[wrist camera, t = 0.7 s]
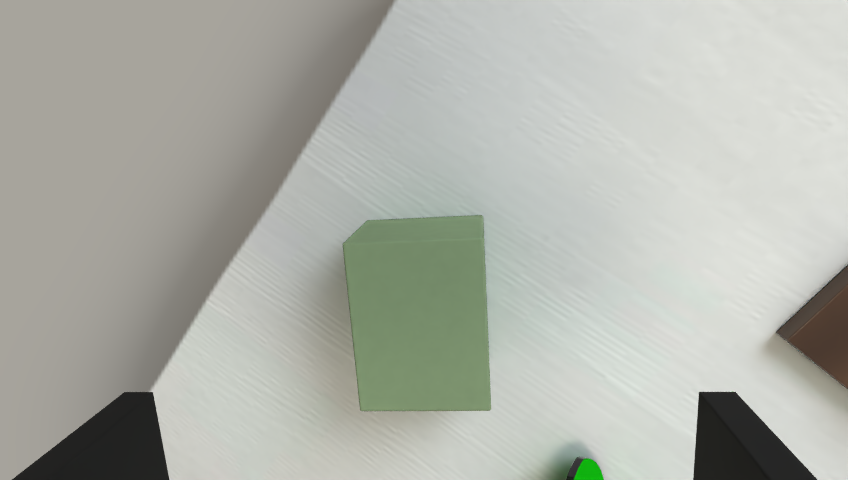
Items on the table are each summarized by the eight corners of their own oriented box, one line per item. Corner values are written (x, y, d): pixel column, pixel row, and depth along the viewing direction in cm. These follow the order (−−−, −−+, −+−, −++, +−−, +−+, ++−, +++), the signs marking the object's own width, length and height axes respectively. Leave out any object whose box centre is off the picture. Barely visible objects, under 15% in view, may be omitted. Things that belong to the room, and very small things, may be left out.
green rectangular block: (366, 220, 27) (342, 243, 22) (483, 214, 26) (483, 237, 22) (379, 361, 29) (359, 411, 24) (489, 360, 28) (491, 411, 23)
